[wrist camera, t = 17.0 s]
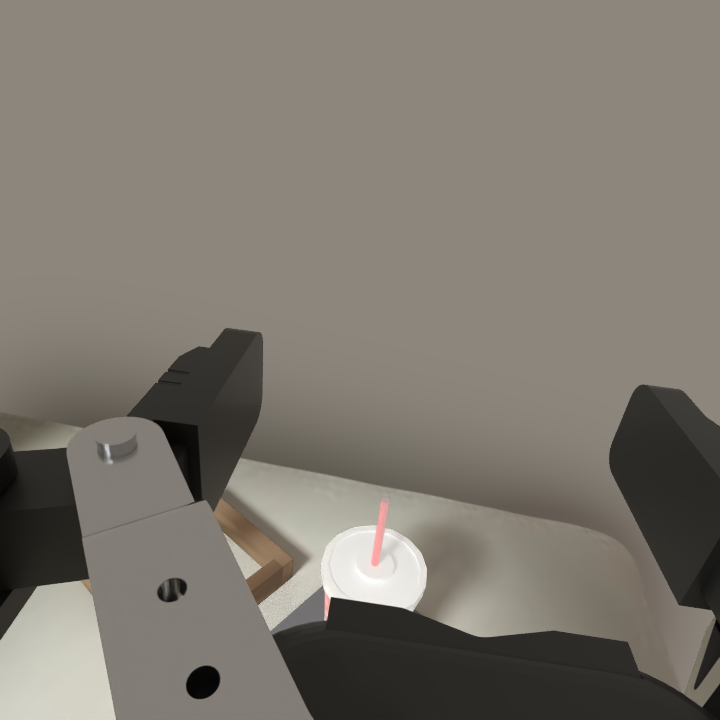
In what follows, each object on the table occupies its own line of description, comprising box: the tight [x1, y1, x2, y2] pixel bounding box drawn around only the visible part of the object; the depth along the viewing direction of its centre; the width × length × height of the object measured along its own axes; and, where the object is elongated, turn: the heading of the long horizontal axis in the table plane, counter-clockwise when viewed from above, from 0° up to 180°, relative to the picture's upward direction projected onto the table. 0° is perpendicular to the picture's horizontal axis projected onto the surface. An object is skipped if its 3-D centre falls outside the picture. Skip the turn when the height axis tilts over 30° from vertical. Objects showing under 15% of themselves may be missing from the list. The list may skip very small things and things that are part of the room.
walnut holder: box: [81, 498, 293, 605], centre depth 38 cm, size 11×11×2 cm
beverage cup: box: [321, 497, 427, 621], centre depth 30 cm, size 6×6×14 cm
